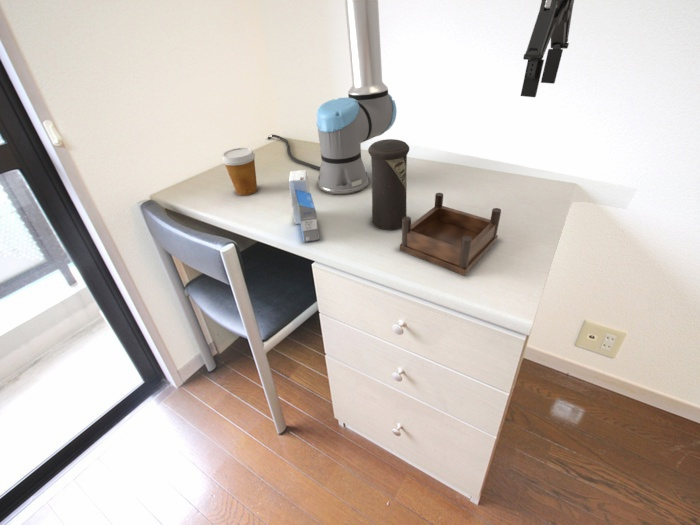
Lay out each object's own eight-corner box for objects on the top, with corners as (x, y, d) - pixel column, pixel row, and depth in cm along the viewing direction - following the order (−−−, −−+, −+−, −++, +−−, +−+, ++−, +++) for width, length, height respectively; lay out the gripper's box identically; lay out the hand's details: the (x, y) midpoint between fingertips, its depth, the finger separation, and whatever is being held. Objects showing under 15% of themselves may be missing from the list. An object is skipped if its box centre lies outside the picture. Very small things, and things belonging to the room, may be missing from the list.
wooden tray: (399, 250, 82) (399, 219, 77) (435, 221, 91) (437, 191, 86) (464, 276, 73) (469, 242, 69) (497, 241, 82) (503, 209, 78)
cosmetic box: (296, 213, 99) (288, 170, 92) (312, 212, 99) (306, 169, 92) (294, 225, 94) (286, 180, 87) (311, 223, 94) (305, 179, 87)
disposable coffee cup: (267, 184, 116) (259, 147, 109) (254, 198, 108) (245, 159, 101) (239, 183, 118) (230, 146, 111) (225, 197, 110) (214, 158, 103)
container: (405, 232, 88) (408, 149, 76) (368, 230, 90) (365, 149, 78) (408, 214, 95) (410, 136, 83) (373, 213, 97) (371, 136, 85)
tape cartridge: (320, 240, 87) (313, 192, 80) (303, 243, 87) (295, 195, 80) (315, 222, 95) (309, 177, 87) (300, 224, 94) (292, 179, 87)
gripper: (574, -44, 56) (539, 105, 68) (606, -42, 71) (572, 79, 84) (523, -39, 60) (498, 100, 72) (563, -39, 75) (537, 76, 87)
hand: (538, 89), depth 78 cm, fingers open, 13 cm apart
